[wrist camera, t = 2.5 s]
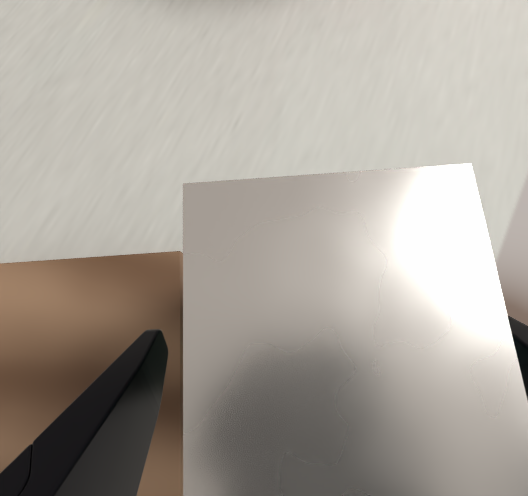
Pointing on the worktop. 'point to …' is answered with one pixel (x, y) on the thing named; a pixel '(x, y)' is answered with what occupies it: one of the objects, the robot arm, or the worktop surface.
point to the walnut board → (88, 346)
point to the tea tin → (347, 339)
